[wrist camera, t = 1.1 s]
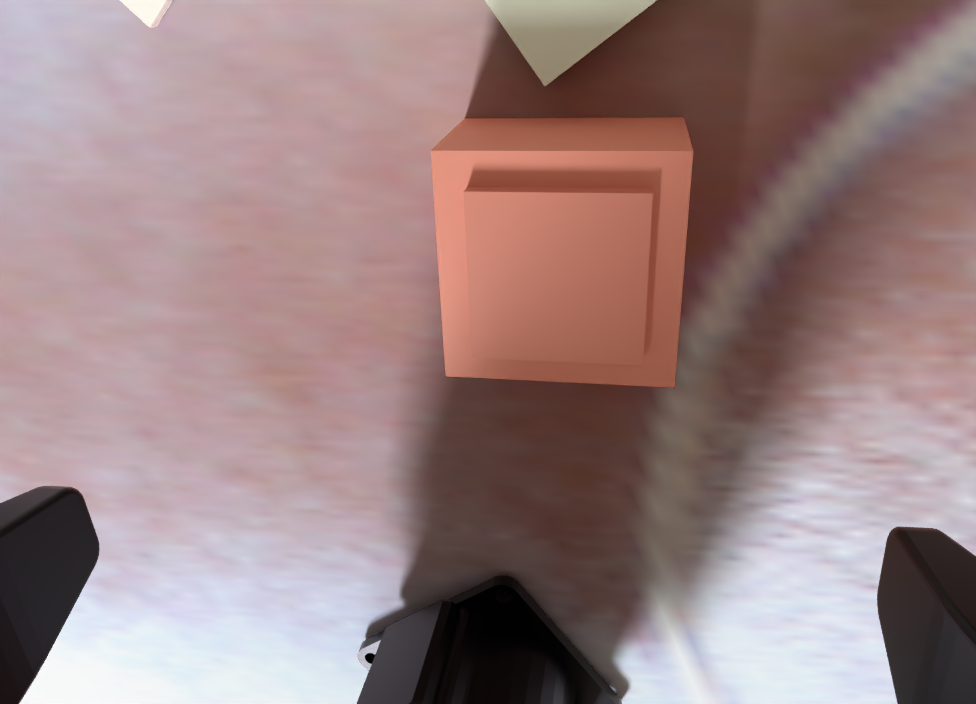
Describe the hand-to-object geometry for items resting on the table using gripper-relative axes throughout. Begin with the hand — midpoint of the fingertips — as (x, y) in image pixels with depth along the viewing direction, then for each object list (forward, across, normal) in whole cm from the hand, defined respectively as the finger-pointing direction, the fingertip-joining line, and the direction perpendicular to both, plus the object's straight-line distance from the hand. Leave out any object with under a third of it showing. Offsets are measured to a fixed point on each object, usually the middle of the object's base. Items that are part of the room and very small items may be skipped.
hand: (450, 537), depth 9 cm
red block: (+12, 0, 0) cm, 12 cm away
